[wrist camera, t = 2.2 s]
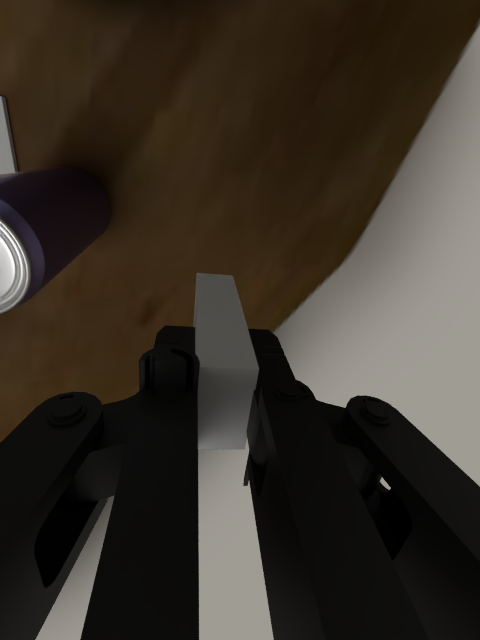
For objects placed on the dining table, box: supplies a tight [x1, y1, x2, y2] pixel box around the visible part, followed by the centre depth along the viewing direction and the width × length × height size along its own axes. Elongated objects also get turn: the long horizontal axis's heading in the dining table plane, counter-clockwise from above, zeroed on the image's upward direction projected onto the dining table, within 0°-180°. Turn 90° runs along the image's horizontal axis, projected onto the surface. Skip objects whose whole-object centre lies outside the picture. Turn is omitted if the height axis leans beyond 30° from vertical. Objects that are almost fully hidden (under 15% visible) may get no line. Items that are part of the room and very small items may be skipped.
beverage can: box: [0, 166, 110, 314], centre depth 20 cm, size 6×6×15 cm
